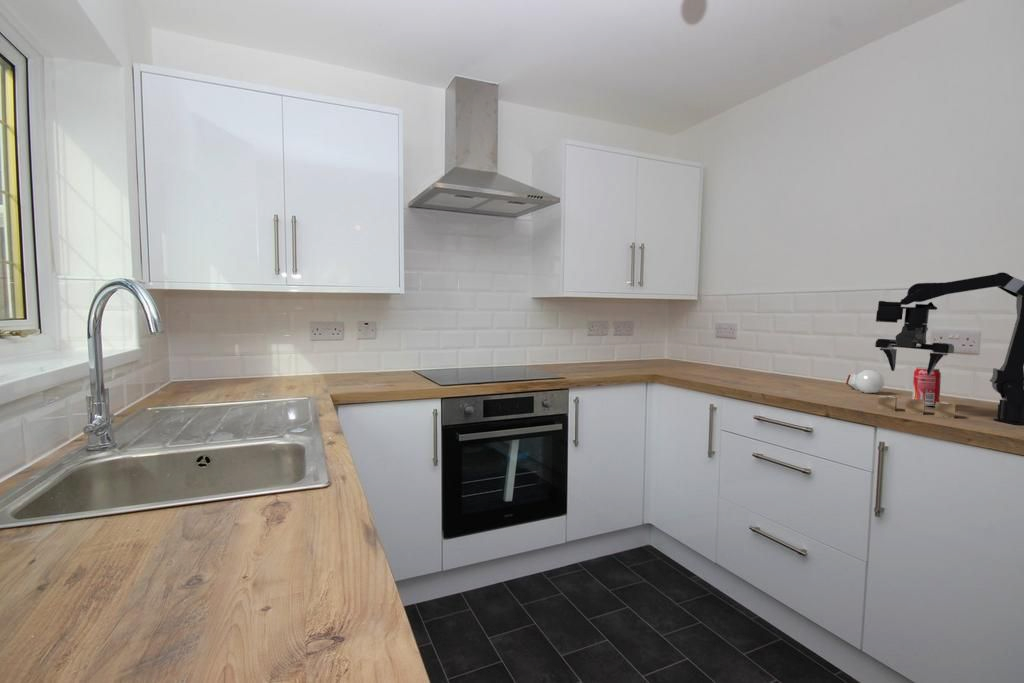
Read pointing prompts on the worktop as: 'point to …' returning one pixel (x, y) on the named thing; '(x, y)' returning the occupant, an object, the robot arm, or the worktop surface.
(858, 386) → the potion bottle
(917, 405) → the plain block
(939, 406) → the pip block near
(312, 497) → the worktop surface
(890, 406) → the pip block far
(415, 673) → the worktop surface
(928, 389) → the soda can
